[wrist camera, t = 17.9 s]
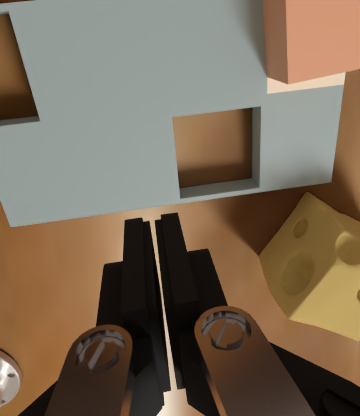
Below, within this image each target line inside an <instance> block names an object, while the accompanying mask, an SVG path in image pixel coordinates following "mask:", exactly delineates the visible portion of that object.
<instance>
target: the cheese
mask: <svg viewBox="0 0 360 416" xmlns="http://www.w3.org/2000/svg"><path fill="white" fill-rule="evenodd" d="M259 259H260V262H261V266H262V269H263V273H264V276H265V279H266V282H267V285H268V287H269V289H270V292H271V294H272V296H273V297H274V299H275V301H276V302H277V304H278V305H279V307H280V308H281V310H282V311H283V313H284V314H285V315H286V316H287V318H288V319H290V320H294V321H298V322H302V323H306V324H311V325H315V326H318V327H321V328H324V329H327V330H330V331H333V332H335V333H338V334H341V335H344V336H346V337H349V338H351V339H354V340H356V341H360V222H359V221H357V220H355V219H353V218H351V217H349V216H347V215H345V214H341V213H338V212H337V211H335V210H334V209H332V208H331V207H330V206H329V205H327V204H326V203H324V202H323V201H321V200H319V199H318V198H316V197H315V196H314V195H312V194H311V193H309V192H306V193H305V194H304V195H303V196H302V198H301V199H300V201H299V202H298V204H297V205H296V207H295V209H294V210H293V212H292V213H291V215H290V216H289V217H288V219H287V220H286V221H285V222H284V224H283V225H282V226H281V228H280V229H279V230H278V232H277V233H276V234H275V236H274V237H273V238H272V239H271V241H270V242H269V243H268V244H267V246H266V247H265V248H264V249H263V251H262V252H261V253H260V255H259Z"/></svg>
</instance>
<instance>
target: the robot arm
mask: <svg viewBox="0 0 360 416" xmlns="http://www.w3.org/2000/svg"><path fill="white" fill-rule="evenodd" d="M155 227H156V236H157V245H158V254H159V263H160V272H161V281H162V290H163V298H164V306H165V313H166V320H167V326H168V333H169V339H170V346H171V352H172V358H173V365H174V371H175V378H176V384H177V390H178V389H184V388H186V395H187V401H188V404H189V405H191V406H192V407H193V408H195V409H196V410H198V411H199V412H201V413H202V414H203V416H360V387H359V386H357V385H355V384H354V383H352V382H350V381H348V380H346V379H344V378H342V377H340V376H338V375H336V374H334V373H332V372H330V371H328V370H326V369H324V368H322V367H320V366H317V365H315V364H313V363H311V362H309V361H307V360H305V359H303V358H301V357H299V356H297V355H295V354H293V353H291V352H289V351H287V350H285V349H283V348H281V347H279V346H276V345H274V344H272V343H270V342H269V341H268V340H267V338H266V337H265V335H264V333H263V332H262V330H261V329H260V327H259V326H258V324H257V322H256V321H255V320H254V318H253V317H252V316H251V315H250V314H249V313H247V312H245V311H244V310H242V309H239V308H236V307H233V306H228V305H227V302H226V299H225V296H224V293H223V290H222V287H221V284H220V281H219V278H218V276H217V273H216V270H215V267H214V264H213V261H212V258H211V255H210V252H209V250H208V249H201V250H195V251H188V252H187V249H186V245H185V241H184V237H183V233H182V229H181V225H180V220H179V216H178V213H170V214H163V215H161V219H160V220H155ZM21 380H22V376H21V371H20V369H19V367H18V365H17V364H16V362H15V361H14V360H13V359H12V358H10V357H9V356H8V355H7V354H5V353H3V352H2V351H0V407H1V406H3V405H5V404H7V403H8V402H10V401H11V400H12V399H13V398H14V397H15V395H16V394H17V393H18V390H19V387H20V385H21ZM167 391H171V386H170V376H169V367H168V357H167V348H166V338H165V329H164V319H163V309H162V300H161V291H160V284H159V278H158V272H157V266H156V259H155V253H154V247H153V240H152V234H151V228H150V222H149V221H146V222H143V219H142V218H135V219H128V220H125V226H124V248H123V261H121V262H114V263H108V264H105V265H104V268H103V275H102V283H101V291H100V299H99V307H98V315H97V323H96V327H94V328H92V329H89V330H87V331H86V332H84V333H83V334H82V335H80V336H79V337H78V338H77V339H76V340H75V341H74V342H73V344H72V346H71V347H70V349H69V351H68V354H67V356H66V359H65V362H64V364H63V367H62V370H61V372H60V375H59V378H58V380H57V381H56V382H55V383H54V384H53V385H52V386H51V387H49V388H48V389H47V390H46V391H45V392H44V393H43V394H42V395H41V396H39V397H38V398H37V399H36V400H35V401H34V402H33V403H32V404H30V405H29V406H28V407H27V408H26V409H25V410H24V411H23V412H22V413H20V414H19V415H18V416H156V415H157V414H158V413H159V412H160V410H161V409H162V406H164V394H163V392H167Z"/></svg>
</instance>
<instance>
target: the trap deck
mask: <svg viewBox="0 0 360 416" xmlns="http://www.w3.org/2000/svg"><path fill="white" fill-rule="evenodd" d="M1 14H9V15H10V18H11V22H12V25H13V28H14V32H15V35H16V39H17V42H18V46H19V49H20V53H21V56H22V60H23V63H24V66H25V70H26V73H27V77H28V80H29V84H30V87H31V91H32V94H33V98H34V101H35V104H36V108H37V111H38V115H39V116H33V117H24V118H16V119H8V120H0V201H1V203H2V206H3V208H4V211H5V213H6V216H7V219H8V221H9V224H10V226H11V227H16V226H23V225H30V224H37V223H44V222H51V221H59V220H66V219H73V218H80V217H87V216H94V215H101V214H109V213H116V212H123V211H130V210H137V209H144V208H151V207H159V206H166V205H173V204H180V203H187V202H194V201H201V200H209V199H216V198H223V197H230V196H237V195H244V194H251V193H259V192H266V191H273V190H280V189H287V188H294V187H301V186H308V185H316V184H323V183H330V182H331V180H332V172H333V164H334V157H335V149H336V141H337V134H338V126H339V118H340V110H341V103H342V95H343V87H344V80H345V72H344V73H339V74H334V75H330V76H325V77H321V78H316V79H311V80H307V81H302V82H298V83H293V84H289V85H288V84H285V83H282V82H279V81H277V80H274V79H271V78H268V77H267V69H266V51H265V34H264V17H263V0H33V1H22V2H12V3H2V4H0V15H1ZM251 107H252V178H250V179H243V180H235V181H228V182H221V183H213V184H206V185H199V186H192V187H184V188H179V181H178V171H177V162H176V152H175V143H174V133H173V123H172V117H178V116H186V115H194V114H202V113H210V112H218V111H227V110H235V109H243V108H251Z"/></svg>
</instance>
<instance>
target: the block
mask: <svg viewBox="0 0 360 416" xmlns="http://www.w3.org/2000/svg"><path fill="white" fill-rule="evenodd" d="M263 17H264V34H265V51H266V69H267V77H268V78H271V79H274V80H277V81H279V82H282V83H285V84H288V85H289V84H293V83H298V82H302V81H307V80H311V79H316V78H321V77H325V76H330V75H334V74H339V73H344V72H348V71H353V70H357V69H360V0H263Z"/></svg>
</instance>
